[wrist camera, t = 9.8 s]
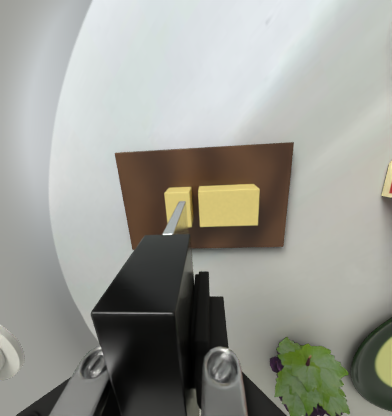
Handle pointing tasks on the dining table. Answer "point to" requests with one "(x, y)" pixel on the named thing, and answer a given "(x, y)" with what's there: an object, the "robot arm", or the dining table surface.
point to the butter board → (207, 176)
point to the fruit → (309, 380)
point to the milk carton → (388, 183)
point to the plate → (375, 367)
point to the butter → (228, 205)
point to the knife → (152, 325)
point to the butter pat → (174, 197)
